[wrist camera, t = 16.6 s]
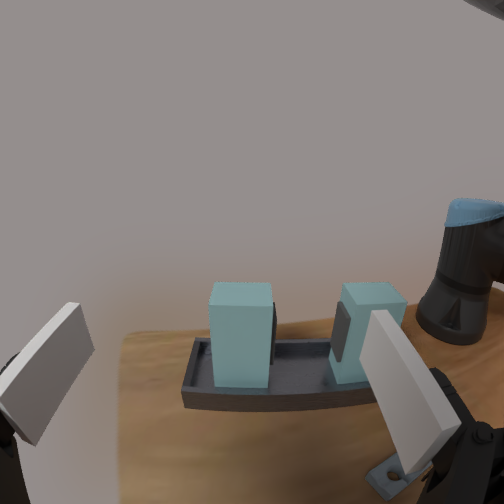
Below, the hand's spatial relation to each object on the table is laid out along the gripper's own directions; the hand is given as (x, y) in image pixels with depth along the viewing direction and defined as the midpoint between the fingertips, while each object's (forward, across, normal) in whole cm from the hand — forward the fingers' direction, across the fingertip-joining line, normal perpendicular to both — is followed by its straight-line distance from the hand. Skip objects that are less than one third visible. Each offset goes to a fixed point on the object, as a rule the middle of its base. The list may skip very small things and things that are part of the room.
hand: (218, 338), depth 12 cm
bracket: (+1, +18, -19) cm, 26 cm away
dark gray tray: (+16, +6, -19) cm, 25 cm away
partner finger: (+16, +14, -17) cm, 27 cm away
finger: (+16, 0, -17) cm, 23 cm away
